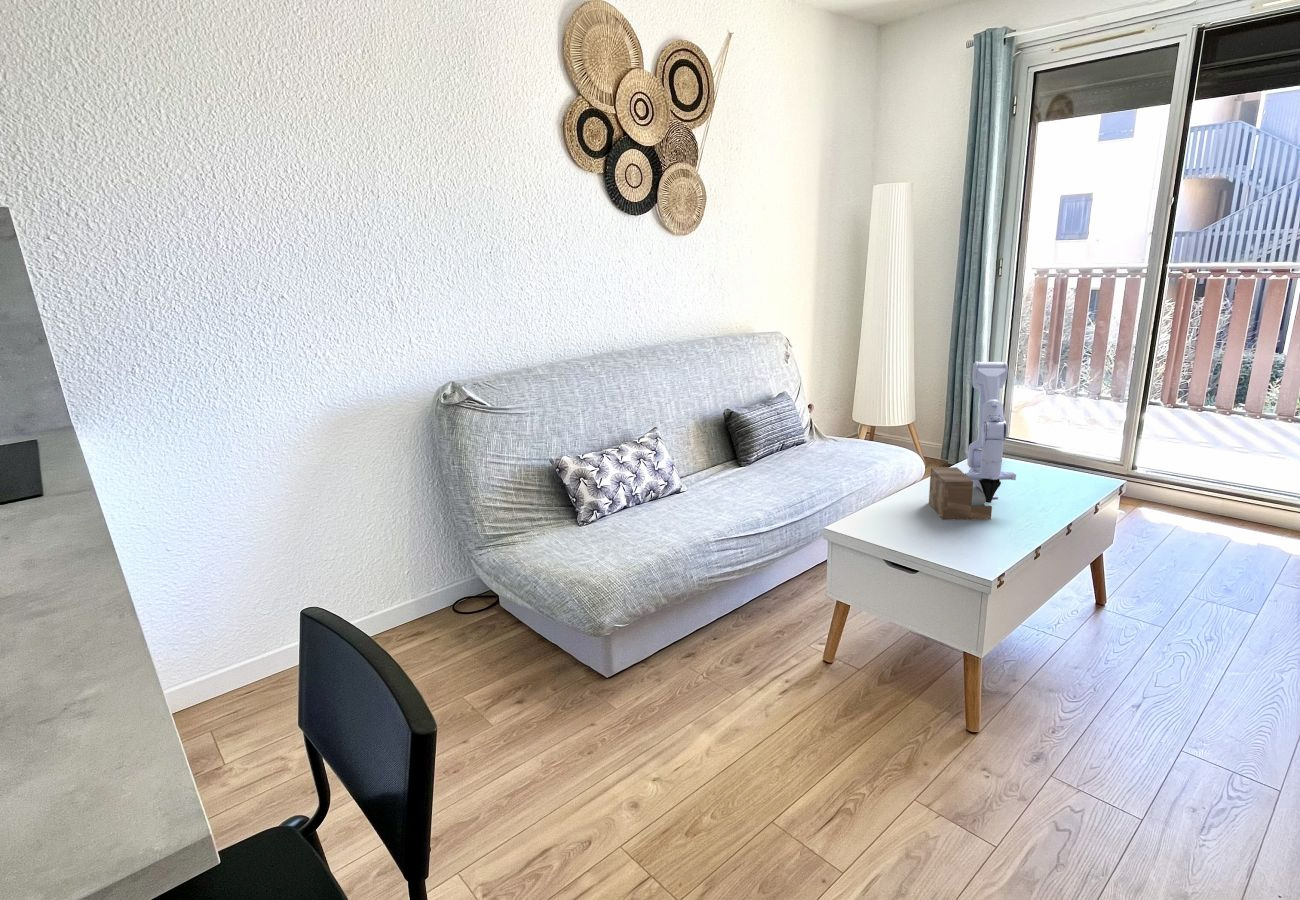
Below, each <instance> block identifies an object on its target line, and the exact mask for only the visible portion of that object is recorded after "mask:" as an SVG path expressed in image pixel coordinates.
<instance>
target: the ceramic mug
mask: <svg viewBox="0 0 1300 900" xmlns="http://www.w3.org/2000/svg"><path fill="white" fill-rule="evenodd" d="M985 501H986V498H985V495H984V493H983V491H982V490H981V489H980V488H979V487H977V486H975V485H973V492H972V504H971V506H987V505H986V502H985Z"/></svg>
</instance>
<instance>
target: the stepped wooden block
mask: <svg viewBox="0 0 1300 900" xmlns="http://www.w3.org/2000/svg"><path fill="white" fill-rule="evenodd" d="M929 478H930V479H929V492H928V504H929V505H930V506H931V507H932V508H933V510H934V511H935V512H936V513H937V514H938V516H939V517H940V518H941V519H942V520H943V521H944V520H992V513H993V511H992V510H993V506H992V505H986V506H971V504H972V492H973V481H972V480H971V479H970V478H969V477H967V476H966V475H965V473H964V472H963V471H962V470H961V469H959V467H957V466H955V467H952V466H950V467H943V466H942V467H930V477H929Z"/></svg>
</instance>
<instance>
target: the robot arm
mask: <svg viewBox="0 0 1300 900" xmlns="http://www.w3.org/2000/svg"><path fill="white" fill-rule="evenodd" d="M1008 371H1009V366H1008V362H1006V361H978V360H977V361H976V360H975V362H973V364H972V374H971V375H972V378H971V379H972V380H971V381H972V382H971V383H972V384H971V385H972V387H973V388H974V389H976V390H977V391H978V392H977V393H978V395H979V396H978V397H979V401H978V403H979V405H978V407H979V408H978V409H979V410H978V427H977V428H978V432H977V433H978V434H977V439H976V440H974V441H972V443H971V442H970V444H969V445H968V451H967V458H966V459H967V466H968V467H969V470H968V472H965V473H964V474H965V475H966V476H967V477H969V478H970V479H971V480H972V481H973V485H975V486H977V487H979V488H980V489H981V490H982V491H983V493H984V495H985V498H986V501H985V503H987V504H991V503H992V500H993V499H999V496H998V495H997V494H996V492H997V490H998V489H999V487H1001V485H1002V481H1003V480H1004V481H1007V480H1011V481H1017V473H1015V472H1013V471H1012V472H1010V471H1009V472H1008V471H1002V465H1003V452H1004V443H1005V442H1004V441H1006V438H1007V433H1008V425H1007V422H1006V418H1005V416H1004V405H1003V403H1002V402H1000V390H1001V389H1003V387H1004V385H1005V384H1006V381H1007V378H1008ZM1001 480H1002V481H1001Z"/></svg>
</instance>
